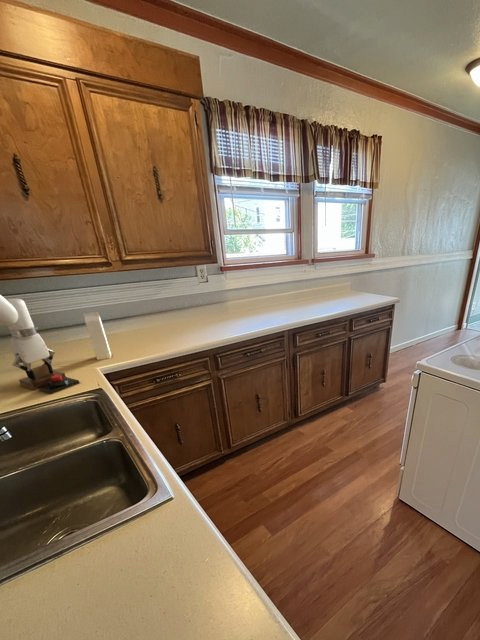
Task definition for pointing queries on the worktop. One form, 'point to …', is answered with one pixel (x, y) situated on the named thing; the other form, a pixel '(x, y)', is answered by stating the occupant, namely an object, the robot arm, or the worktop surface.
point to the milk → (97, 335)
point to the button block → (58, 385)
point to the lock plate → (38, 381)
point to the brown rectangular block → (41, 371)
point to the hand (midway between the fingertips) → (41, 375)
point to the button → (56, 378)
